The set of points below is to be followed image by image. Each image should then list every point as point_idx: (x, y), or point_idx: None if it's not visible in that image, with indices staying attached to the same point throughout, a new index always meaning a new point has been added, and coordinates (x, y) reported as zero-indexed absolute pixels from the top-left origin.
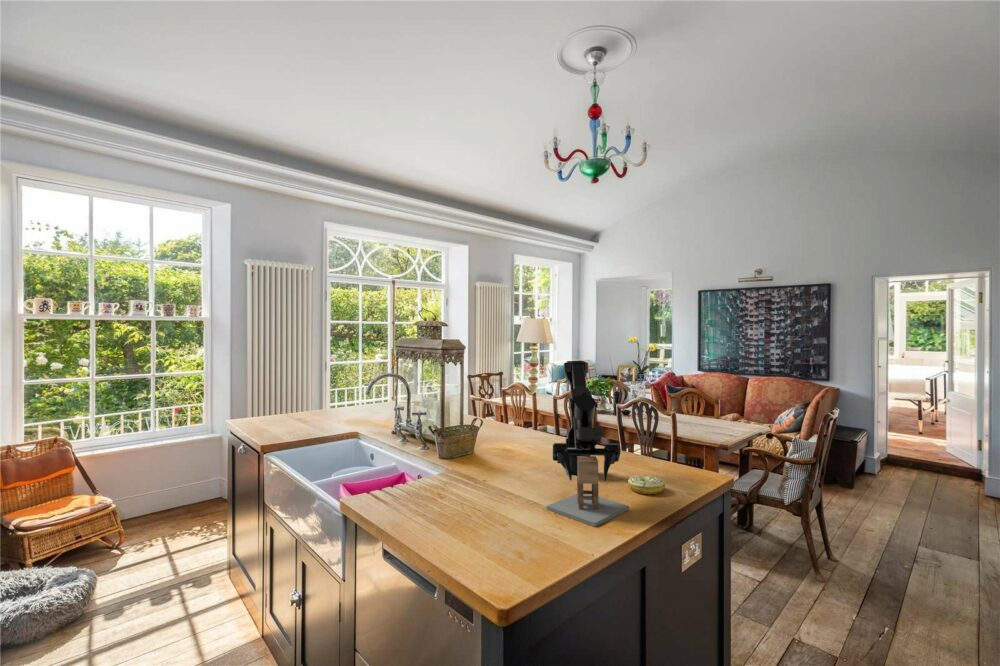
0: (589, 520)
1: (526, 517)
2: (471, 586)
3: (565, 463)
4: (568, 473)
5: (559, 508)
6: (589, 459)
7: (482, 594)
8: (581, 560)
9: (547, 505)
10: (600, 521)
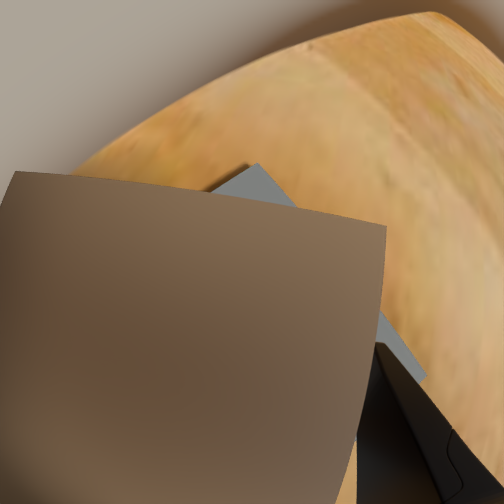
0: (271, 185)
1: (487, 292)
2: (489, 51)
3: (473, 458)
4: (410, 378)
5: (378, 340)
6: (76, 331)
7: (471, 35)
8: (340, 38)
9: (422, 378)
10: (223, 187)
